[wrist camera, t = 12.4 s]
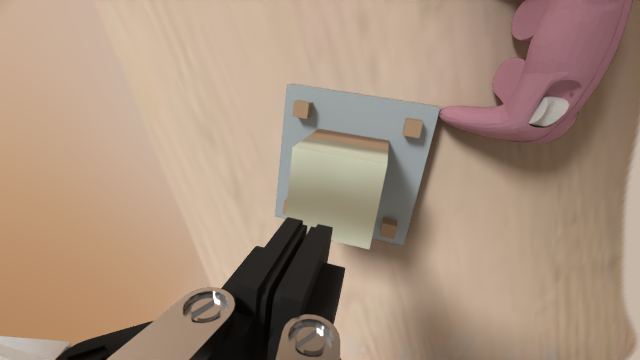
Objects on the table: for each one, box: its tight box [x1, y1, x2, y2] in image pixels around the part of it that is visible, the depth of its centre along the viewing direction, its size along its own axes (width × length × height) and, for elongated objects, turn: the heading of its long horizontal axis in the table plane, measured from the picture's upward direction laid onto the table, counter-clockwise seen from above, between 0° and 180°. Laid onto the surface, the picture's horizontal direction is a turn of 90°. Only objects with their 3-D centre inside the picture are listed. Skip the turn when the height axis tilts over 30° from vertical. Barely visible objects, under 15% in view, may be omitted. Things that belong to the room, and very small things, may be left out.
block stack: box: [285, 129, 389, 249], centre depth 19 cm, size 5×5×6 cm
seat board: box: [275, 84, 440, 246], centre depth 22 cm, size 10×10×2 cm
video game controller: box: [439, 0, 633, 144], centre depth 16 cm, size 10×5×7 cm, turn 172°
